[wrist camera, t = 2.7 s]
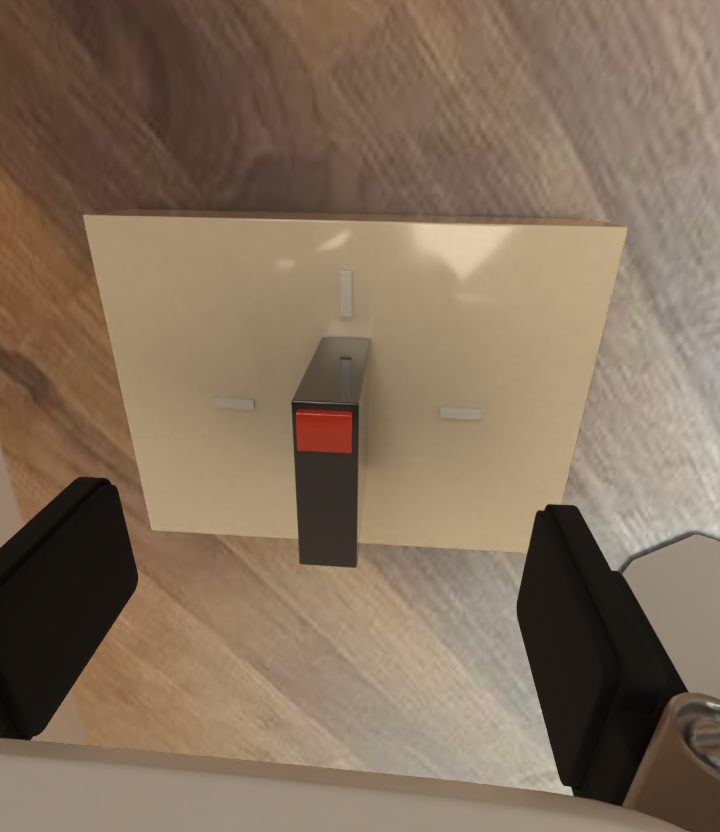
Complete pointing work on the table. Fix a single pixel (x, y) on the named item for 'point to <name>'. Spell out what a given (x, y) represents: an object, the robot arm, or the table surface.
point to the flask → (684, 607)
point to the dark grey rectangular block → (332, 451)
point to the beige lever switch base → (389, 361)
